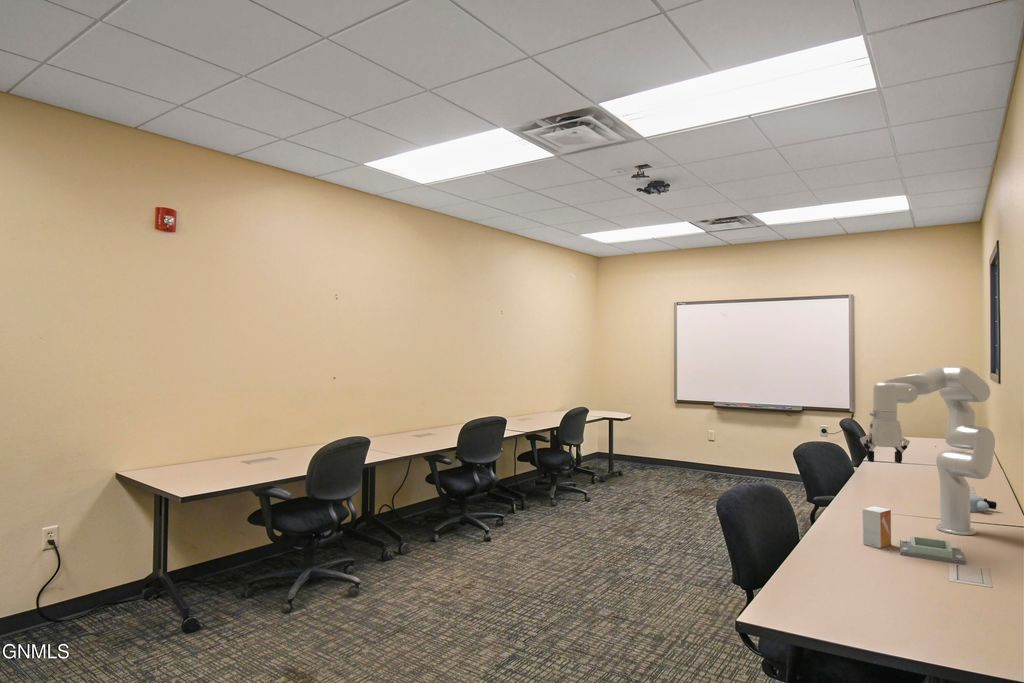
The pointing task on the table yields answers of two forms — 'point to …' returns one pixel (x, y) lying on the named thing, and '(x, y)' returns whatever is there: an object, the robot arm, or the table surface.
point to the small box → (877, 527)
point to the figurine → (980, 503)
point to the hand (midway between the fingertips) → (884, 462)
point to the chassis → (931, 549)
